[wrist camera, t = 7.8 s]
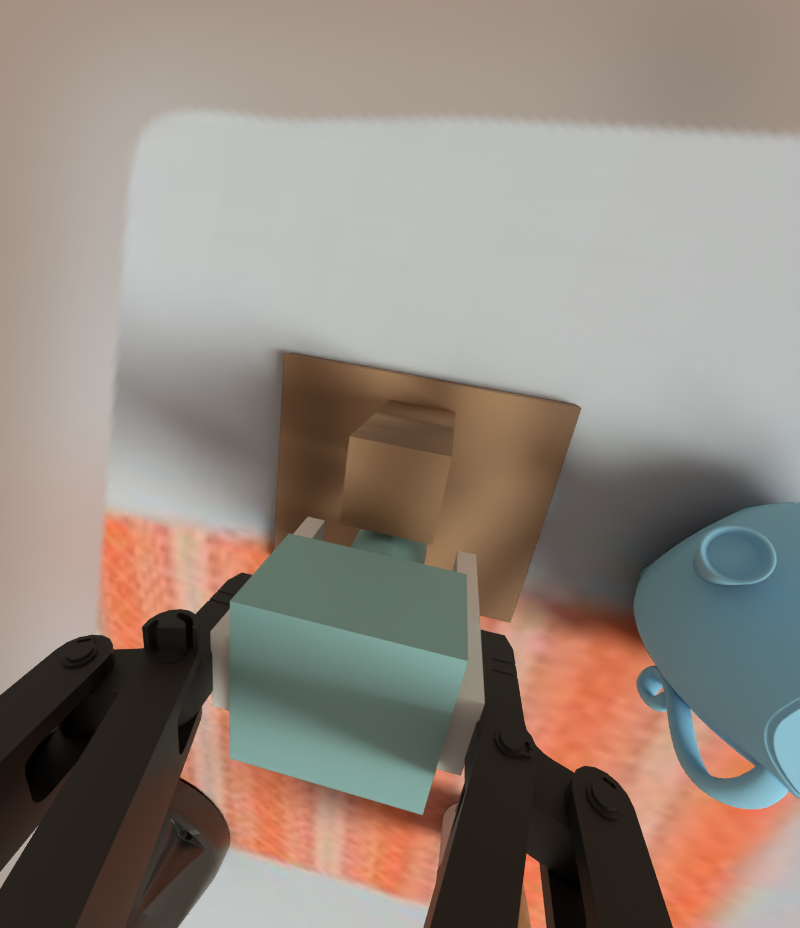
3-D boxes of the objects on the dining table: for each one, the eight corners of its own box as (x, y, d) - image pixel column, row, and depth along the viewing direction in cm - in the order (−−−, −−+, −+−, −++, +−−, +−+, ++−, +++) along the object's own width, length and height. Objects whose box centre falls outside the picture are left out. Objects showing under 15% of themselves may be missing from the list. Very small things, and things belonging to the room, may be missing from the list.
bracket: (279, 558, 26) (194, 662, 18) (291, 352, 22) (183, 363, 13) (508, 611, 25) (532, 752, 17) (575, 404, 20) (657, 454, 12)
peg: (339, 558, 20) (229, 758, 11) (351, 462, 18) (230, 601, 9) (442, 582, 20) (422, 814, 10) (465, 486, 18) (467, 661, 8)
